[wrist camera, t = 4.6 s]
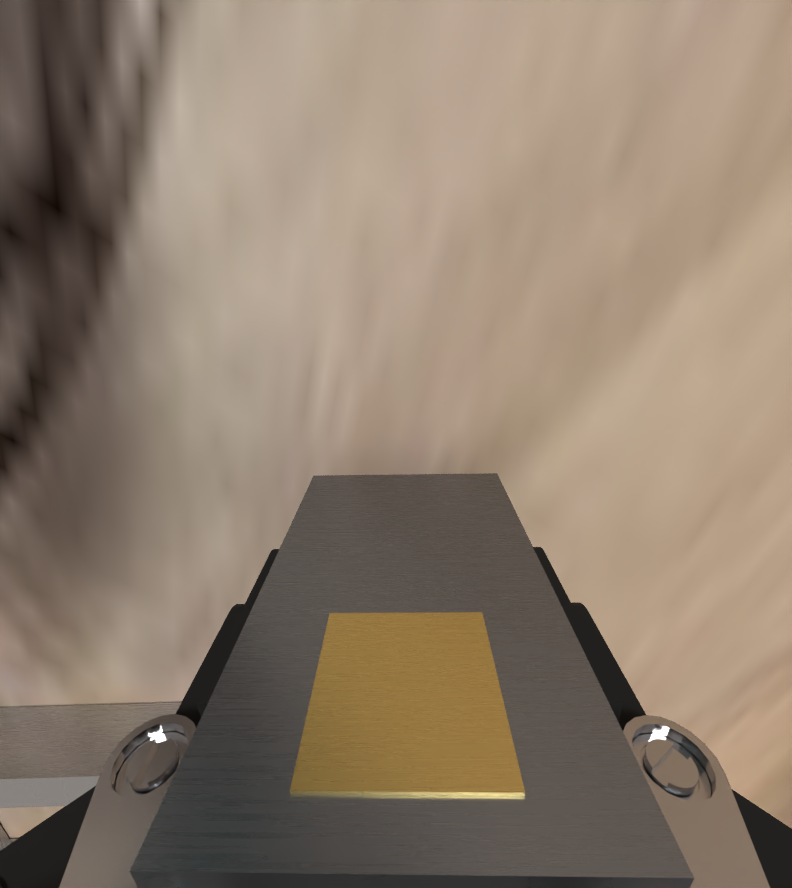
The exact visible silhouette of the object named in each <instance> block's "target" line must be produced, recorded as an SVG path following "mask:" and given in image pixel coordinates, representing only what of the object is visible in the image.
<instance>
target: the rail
mask: <svg viewBox="0 0 792 888" xmlns="http://www.w3.org/2000/svg"><path fill="white" fill-rule="evenodd" d="M181 703H182V702H174V703H140V704H107V705H73V706H39V707H5V708H0V808H10V807H43V806H67V805H68V804H70V803H71V802H73V801H74V800H75V799H77V798H78V797H80V796H81V795H83V794H84V793H86V792H87V791H89V790H90V789H92V788H93V787H95V786H96V784H97V782H98V779H99V776H100V773H101V771H102V769H103V767H104V765H105V763H106V761H107V759H108V757H109V755H110V754H111V753H112V751H113V750H114V749H115V747H116V746H117V745H118V744H119V742H120V741H121V740H122V739H124V738H125V737H126V736H127V735H128V734H129V733H130V732H132V731H133V730H134V729H135V728H137V727H139V726H140V725H142V724H144V723H145V722H147V721H149V720H151V719H154V718H157V717H159V716H162V715H170V714H176V712H177V710H178V708H179V706H180V705H181ZM15 840H17V839H9V838H8V836H7V835H6V833H5V831H4V830H3V828H2V826H1V825H0V851H1V850H2V849H4V848H5V847H7V846H8V845H9V844H11V843H12V842H14V841H15Z"/></svg>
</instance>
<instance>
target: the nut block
mask: <svg viewBox="0 0 792 888" xmlns="http://www.w3.org/2000/svg"><path fill="white" fill-rule="evenodd" d="M130 873H131V875H132V877H133V879H134V881H135V883H136V885H137V887H138V888H690V887H691V884H692V882H693V880H694V876H693V874H692V872H691V870H690V868H689V866H688V864H687V862H686V860H685V858H684V856H683V854H682V852H681V850H680V848H679V845H678V843H677V841H676V839H675V837H674V835H673V833H672V831H671V829H670V827H669V825H668V823H667V821H666V819H665V817H664V815H663V813H662V811H661V809H660V807H659V805H658V802H657V800H656V798H655V796H654V794H653V792H652V790H651V788H650V786H649V784H648V782H647V780H646V778H645V776H644V774H643V772H642V770H641V768H640V766H639V764H638V762H637V759H636V757H635V755H634V753H633V751H632V749H631V747H630V745H629V743H628V741H627V739H626V737H625V735H624V733H623V731H622V729H621V727H620V725H619V723H618V721H617V718H616V716H615V714H614V712H613V710H612V708H611V706H610V704H609V702H608V700H607V698H606V696H605V694H604V692H603V690H602V688H601V686H600V684H599V682H598V680H597V678H596V675H595V673H594V671H593V669H592V667H591V665H590V663H589V661H588V659H587V657H586V655H585V653H584V651H583V649H582V647H581V645H580V643H579V641H578V639H577V637H576V635H575V632H574V630H573V628H572V626H571V624H570V622H569V620H568V618H567V616H566V614H565V612H564V610H563V608H562V606H561V604H560V602H559V600H558V598H557V596H556V594H555V591H554V589H553V587H552V585H551V583H550V581H549V579H548V577H547V575H546V573H545V571H544V569H543V567H542V565H541V563H540V561H539V559H538V557H537V555H536V553H535V551H534V548H533V546H532V544H531V542H530V540H529V538H528V536H527V534H526V532H525V530H524V528H523V526H522V524H521V522H520V520H519V518H518V516H517V514H516V512H515V510H514V508H513V505H512V503H511V501H510V499H509V497H508V495H507V493H506V491H505V489H504V487H503V485H502V483H501V481H500V479H499V477H498V475H497V474H420V475H340V476H313V478H312V481H311V483H310V485H309V487H308V489H307V491H306V493H305V496H304V498H303V500H302V502H301V504H300V506H299V508H298V511H297V513H296V515H295V517H294V519H293V521H292V524H291V526H290V528H289V530H288V532H287V534H286V536H285V539H284V541H283V543H282V545H281V547H280V549H279V551H278V554H277V556H276V558H275V560H274V562H273V564H272V566H271V569H270V571H269V573H268V575H267V577H266V579H265V582H264V584H263V586H262V588H261V590H260V592H259V594H258V597H257V599H256V601H255V603H254V605H253V607H252V609H251V612H250V614H249V616H248V618H247V620H246V622H245V625H244V627H243V629H242V631H241V633H240V635H239V637H238V640H237V642H236V644H235V646H234V648H233V650H232V652H231V655H230V657H229V659H228V661H227V663H226V665H225V668H224V670H223V672H222V674H221V676H220V678H219V680H218V683H217V685H216V687H215V689H214V691H213V693H212V695H211V698H210V700H209V702H208V704H207V706H206V708H205V710H204V713H203V715H202V717H201V719H200V721H199V723H198V726H197V728H196V730H195V732H194V734H193V736H192V738H191V741H190V743H189V745H188V747H187V749H186V751H185V753H184V756H183V758H182V760H181V762H180V764H179V766H178V769H177V771H176V773H175V775H174V777H173V779H172V781H171V784H170V786H169V788H168V790H167V792H166V794H165V796H164V799H163V801H162V803H161V805H160V807H159V809H158V811H157V814H156V816H155V818H154V820H153V822H152V824H151V827H150V829H149V831H148V833H147V835H146V837H145V839H144V842H143V844H142V846H141V848H140V850H139V852H138V854H137V857H136V859H135V861H134V863H133V865H132V867H131V870H130Z"/></svg>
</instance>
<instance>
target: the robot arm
mask: <svg viewBox="0 0 792 888" xmlns="http://www.w3.org/2000/svg"><path fill="white" fill-rule="evenodd" d="M533 548H534V551H535V553H536V555H537V557H538V559H539V561H540V563H541V565H542V567H543V569H544V571H545V573H546V575H547V577H548V579H549V581H550V583H551V585H552V587H553V589H554V591H555V594H556V596H557V598H558V600H559V602H560V604H561V606H562V608H563V610H564V612H565V614H566V616H567V618H568V620H569V622H570V624H571V626H572V628H573V630H574V632H575V635H576V637H577V639H578V641H579V643H580V645H581V647H582V649H583V651H584V653H585V655H586V657H587V659H588V661H589V663H590V665H591V667H592V669H593V671H594V673H595V675H596V678H597V680H598V682H599V684H600V686H601V688H602V690H603V692H604V694H605V696H606V698H607V700H608V702H609V704H610V706H611V708H612V710H613V712H614V714H615V716H616V718H617V721H618V723H619V725H620V727H621V729H622V731H623V733H624V735H625V737H626V739H627V741H628V743H629V745H630V747H631V749H632V751H633V753H634V755H635V757H636V759H637V762H638V764H639V766H640V768H641V770H642V772H643V774H644V776H645V778H646V780H647V782H648V784H649V786H650V788H651V790H652V792H653V794H654V796H655V798H656V800H657V802H658V805H659V807H660V809H661V811H662V813H663V815H664V817H665V819H666V821H667V823H668V825H669V827H670V829H671V831H672V833H673V835H674V837H675V839H676V841H677V843H678V845H679V848H680V850H681V852H682V854H683V856H684V858H685V860H686V862H687V864H688V866H689V868H690V870H691V872H692V874H693V876H694V880H693V882H692V884H691V887H690V888H792V829H791V828H789V827H788V826H786V825H785V824H783V823H782V822H780V821H779V820H777V819H776V818H774V817H773V816H771V815H770V814H768V813H767V812H765V811H764V810H762V809H761V808H759V807H758V806H756V805H755V804H753V803H752V802H750V801H749V800H747V799H746V798H744V797H743V796H741V795H740V794H738V793H737V792H735V791H734V790H732V789H731V787H730V784H729V782H728V779H727V777H726V774H725V772H724V770H723V769H722V767H721V765H720V763H719V761H718V759H717V758H716V757H715V755H714V754H713V753H712V752H711V751H710V749H709V748H708V747H707V746H706V745H705V744H704V743H703V742H702V741H701V740H700V739H699V738H697V737H696V736H695V735H694V734H693V733H692V732H690V731H689V730H687V729H685V728H684V727H682V726H680V725H679V724H677V723H675V722H673V721H670V720H667V719H665V718H662V717H658V716H649V715H646V714H645V712H644V710H643V708H642V707H641V705H640V703H639V701H638V699H637V698H636V696H635V694H634V692H633V691H632V689H631V687H630V685H629V683H628V682H627V680H626V678H625V676H624V674H623V673H622V671H621V669H620V667H619V666H618V664H617V662H616V660H615V658H614V657H613V655H612V653H611V651H610V649H609V648H608V646H607V644H606V642H605V641H604V639H603V637H602V635H601V633H600V632H599V630H598V628H597V626H596V624H595V623H594V621H593V619H592V617H591V616H590V614H589V612H588V610H587V609H586V607H585V606H584V605H583V604H581V603H571V602H570V600H569V598H568V596H567V594H566V592H565V591H564V589H563V587H562V585H561V583H560V581H559V579H558V577H557V575H556V573H555V571H554V569H553V568H552V566H551V564H550V562H549V560H548V558H547V556H546V554H545V552H544V550H543V549H542V548H541V547H533ZM278 551H279V549H273V550H272V551H271V553H270V554H269V557H268V559H267V561H266V563H265V565H264V567H263V569H262V571H261V573H260V575H259V577H258V579H257V581H256V583H255V585H254V587H253V589H252V591H251V593H250V595H249V597H248V599H247V601H246V603H245V604H236V605H235V606H233V607H232V609H231V610H230V612H229V614H228V616H227V618H226V619H225V621H224V623H223V625H222V627H221V629H220V631H219V633H218V635H217V636H216V638H215V640H214V642H213V644H212V646H211V648H210V650H209V652H208V653H207V655H206V657H205V659H204V661H203V663H202V665H201V667H200V669H199V671H198V672H197V674H196V676H195V678H194V680H193V682H192V684H191V686H190V688H189V689H188V691H187V693H186V695H185V697H184V699H183V701H182V703H181V705H180V706H179V708H178V710H177V712H176V714H170V715H162V716H159V717H157V718H154V719H151V720H149V721H147V722H145V723H144V724H142V725H140V726H139V727H137V728H135V729H134V730H133V731H132V732H130V733H129V734H128V735H127V736H126V737H125V738H124V739H122V740H121V741H120V742H119V744H118V745H117V746H116V747H115V749H114V750H113V751H112V753H111V754H110V755H109V757H108V759H107V761H106V763H105V765H104V767H103V769H102V771H101V773H100V776H99V779H98V782H97V784H96V786H95V787H93V788H92V789H90V790H89V791H87V792H86V793H84V794H83V795H81V796H80V797H78V798H77V799H75V800H74V801H73V802H71V803H70V804H68V805H67V806H65V807H64V808H62V809H61V810H59V811H58V812H56V813H55V814H53V815H52V816H51V817H49V818H48V819H46V820H45V821H43V822H42V823H40V824H39V825H37V826H36V827H34V828H33V829H31V830H30V831H29V832H27V833H26V834H24V835H23V836H21V837H20V838H18V839H17V840H15V841H14V842H12V843H11V844H9V845H8V846H7V847H5V848H4V849H2V850H1V851H0V888H138V887H137V885H136V883H135V881H134V879H133V877H132V875H131V873H130V870H131V867H132V865H133V863H134V861H135V859H136V857H137V854H138V852H139V850H140V848H141V846H142V844H143V842H144V839H145V837H146V835H147V833H148V831H149V829H150V827H151V824H152V822H153V820H154V818H155V816H156V814H157V811H158V809H159V807H160V805H161V803H162V801H163V799H164V796H165V794H166V792H167V790H168V788H169V786H170V784H171V781H172V779H173V777H174V775H175V773H176V771H177V769H178V766H179V764H180V762H181V760H182V758H183V756H184V753H185V751H186V749H187V747H188V745H189V743H190V741H191V738H192V736H193V734H194V732H195V730H196V728H197V726H198V723H199V721H200V719H201V717H202V715H203V713H204V710H205V708H206V706H207V704H208V702H209V700H210V698H211V695H212V693H213V691H214V689H215V687H216V685H217V683H218V680H219V678H220V676H221V674H222V672H223V670H224V668H225V665H226V663H227V661H228V659H229V657H230V655H231V652H232V650H233V648H234V646H235V644H236V642H237V640H238V637H239V635H240V633H241V631H242V629H243V627H244V625H245V622H246V620H247V618H248V616H249V614H250V612H251V609H252V607H253V605H254V603H255V601H256V599H257V597H258V594H259V592H260V590H261V588H262V586H263V584H264V582H265V579H266V577H267V575H268V573H269V571H270V569H271V566H272V564H273V562H274V560H275V558H276V556H277V554H278Z"/></svg>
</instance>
